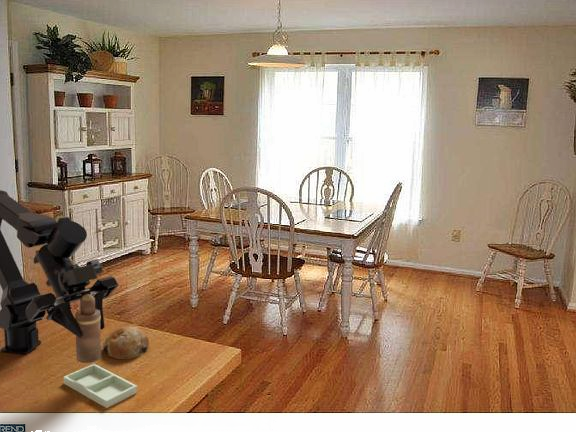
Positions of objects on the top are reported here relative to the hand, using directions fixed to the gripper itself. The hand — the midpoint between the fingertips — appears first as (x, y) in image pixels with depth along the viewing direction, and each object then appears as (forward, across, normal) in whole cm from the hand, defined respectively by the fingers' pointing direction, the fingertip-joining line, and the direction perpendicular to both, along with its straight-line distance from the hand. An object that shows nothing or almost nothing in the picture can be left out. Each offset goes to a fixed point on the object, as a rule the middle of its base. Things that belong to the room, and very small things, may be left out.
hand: (92, 332), depth 108 cm
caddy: (+10, 0, +7) cm, 12 cm away
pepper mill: (+3, 0, +5) cm, 6 cm away
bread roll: (+4, +14, +14) cm, 21 cm away
